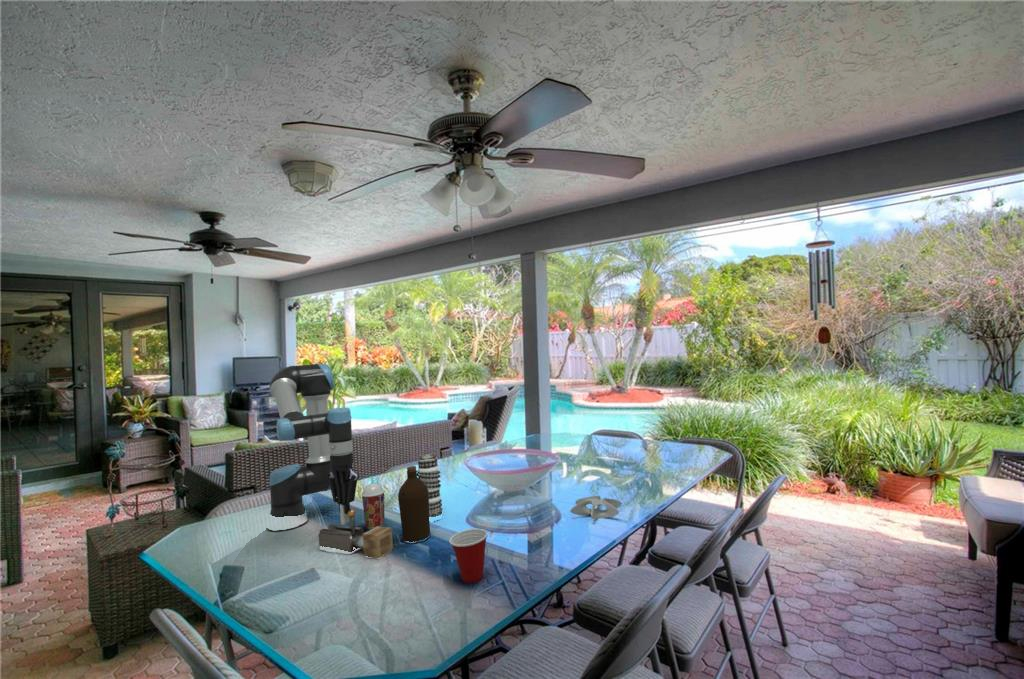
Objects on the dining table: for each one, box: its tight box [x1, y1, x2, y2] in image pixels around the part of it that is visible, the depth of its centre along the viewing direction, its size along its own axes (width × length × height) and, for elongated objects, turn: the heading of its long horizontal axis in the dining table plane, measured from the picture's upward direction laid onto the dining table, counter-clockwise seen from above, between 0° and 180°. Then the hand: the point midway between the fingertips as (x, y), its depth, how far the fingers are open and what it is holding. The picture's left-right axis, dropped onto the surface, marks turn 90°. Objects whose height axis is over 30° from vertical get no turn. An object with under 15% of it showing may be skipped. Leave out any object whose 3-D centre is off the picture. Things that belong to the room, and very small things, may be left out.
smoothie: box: [361, 475, 386, 528], centre depth 175 cm, size 8×8×20 cm
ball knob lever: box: [348, 508, 364, 550], centre depth 154 cm, size 16×4×12 cm, turn 66°
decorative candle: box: [416, 453, 443, 517], centre depth 181 cm, size 9×9×25 cm
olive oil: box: [397, 465, 431, 542], centre depth 162 cm, size 11×11×25 cm
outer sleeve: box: [318, 524, 365, 552], centre depth 158 cm, size 14×6×7 cm, turn 66°
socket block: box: [363, 526, 394, 559], centre depth 152 cm, size 6×7×8 cm
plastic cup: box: [449, 528, 488, 584], centre depth 129 cm, size 11×11×12 cm
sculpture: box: [569, 495, 623, 520], centre depth 170 cm, size 18×20×6 cm
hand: (345, 522), depth 157 cm, fingers closed
